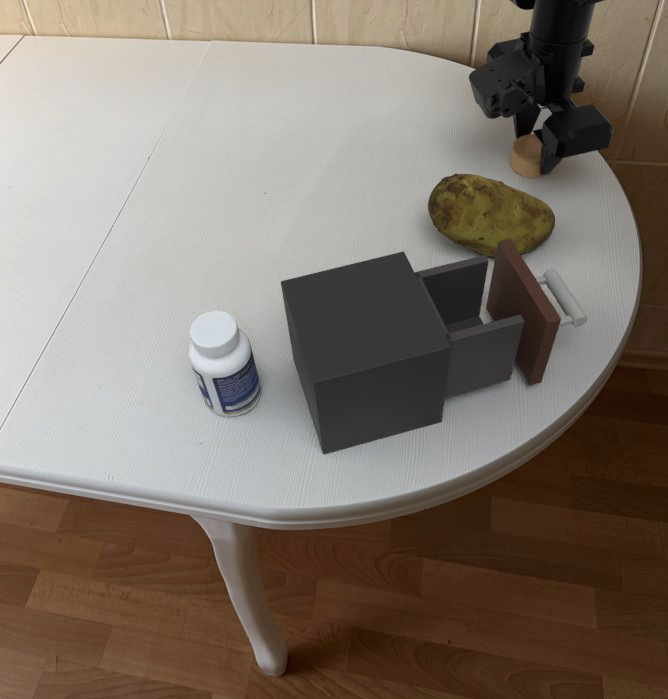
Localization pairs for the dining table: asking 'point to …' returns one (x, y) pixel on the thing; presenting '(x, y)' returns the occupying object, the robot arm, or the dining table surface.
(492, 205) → the potato
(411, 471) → the dining table surface
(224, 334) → the pill bottle
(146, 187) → the dining table surface
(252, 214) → the dining table surface
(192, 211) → the dining table surface
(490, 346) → the drawer
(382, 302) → the dark grey cube
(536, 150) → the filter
